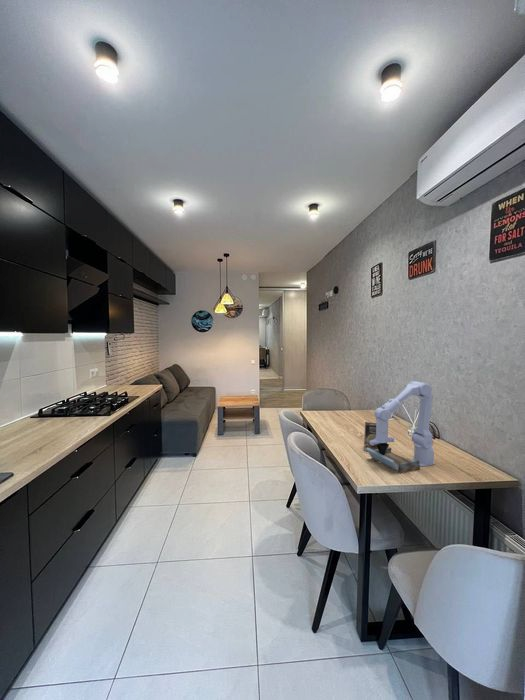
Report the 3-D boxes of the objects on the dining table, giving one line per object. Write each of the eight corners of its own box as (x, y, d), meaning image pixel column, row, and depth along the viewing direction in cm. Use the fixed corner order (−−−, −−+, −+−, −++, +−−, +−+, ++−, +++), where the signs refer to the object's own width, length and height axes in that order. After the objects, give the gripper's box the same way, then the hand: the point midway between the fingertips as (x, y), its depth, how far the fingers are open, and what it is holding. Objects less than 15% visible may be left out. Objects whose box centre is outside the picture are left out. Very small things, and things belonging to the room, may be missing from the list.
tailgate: (372, 454, 165) (367, 447, 164) (399, 469, 147) (393, 460, 146) (370, 456, 165) (365, 448, 163) (397, 470, 147) (392, 462, 146)
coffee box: (364, 451, 175) (365, 424, 175) (363, 447, 181) (364, 421, 181) (381, 453, 173) (381, 426, 172) (379, 449, 179) (380, 423, 178)
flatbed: (390, 455, 170) (390, 447, 170) (419, 469, 152) (420, 460, 152) (372, 458, 166) (372, 450, 166) (400, 473, 147) (400, 464, 147)
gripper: (387, 427, 161) (387, 452, 162) (365, 430, 156) (365, 455, 156) (397, 431, 154) (397, 456, 155) (375, 434, 149) (374, 461, 150)
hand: (381, 456), depth 155 cm, fingers closed, pressing on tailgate
